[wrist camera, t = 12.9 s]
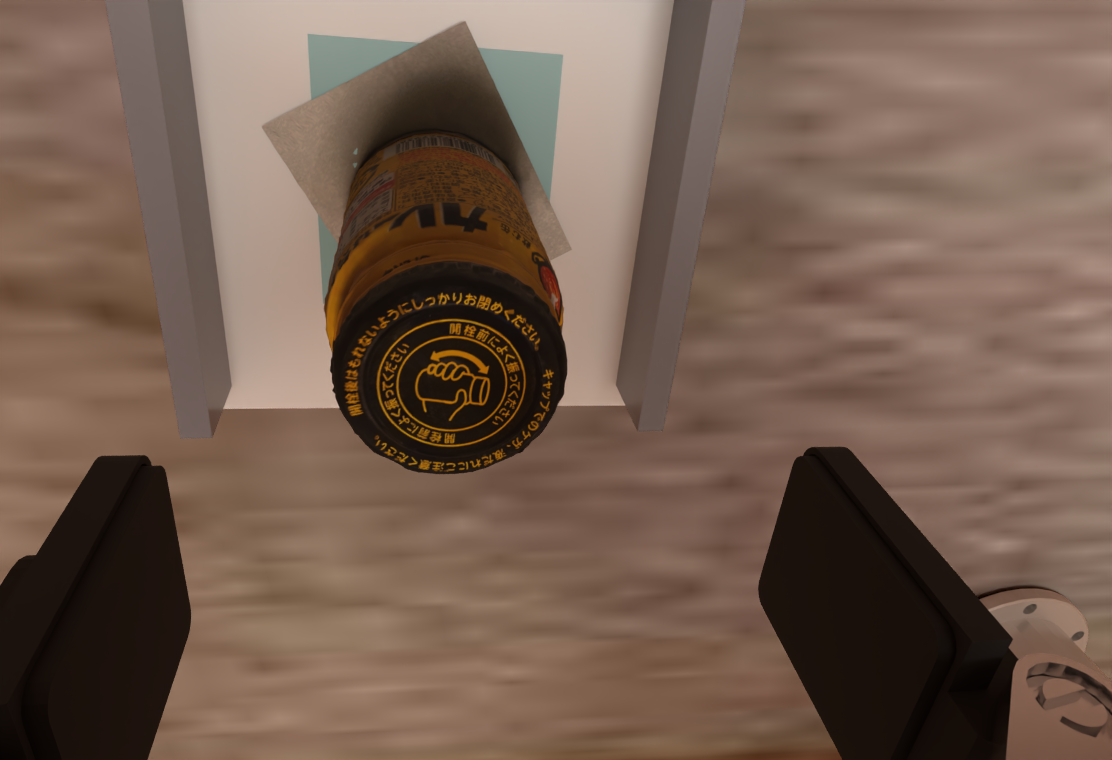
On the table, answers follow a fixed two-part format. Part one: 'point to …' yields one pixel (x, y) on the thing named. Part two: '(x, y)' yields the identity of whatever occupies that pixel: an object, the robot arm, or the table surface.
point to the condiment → (433, 259)
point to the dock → (282, 206)
